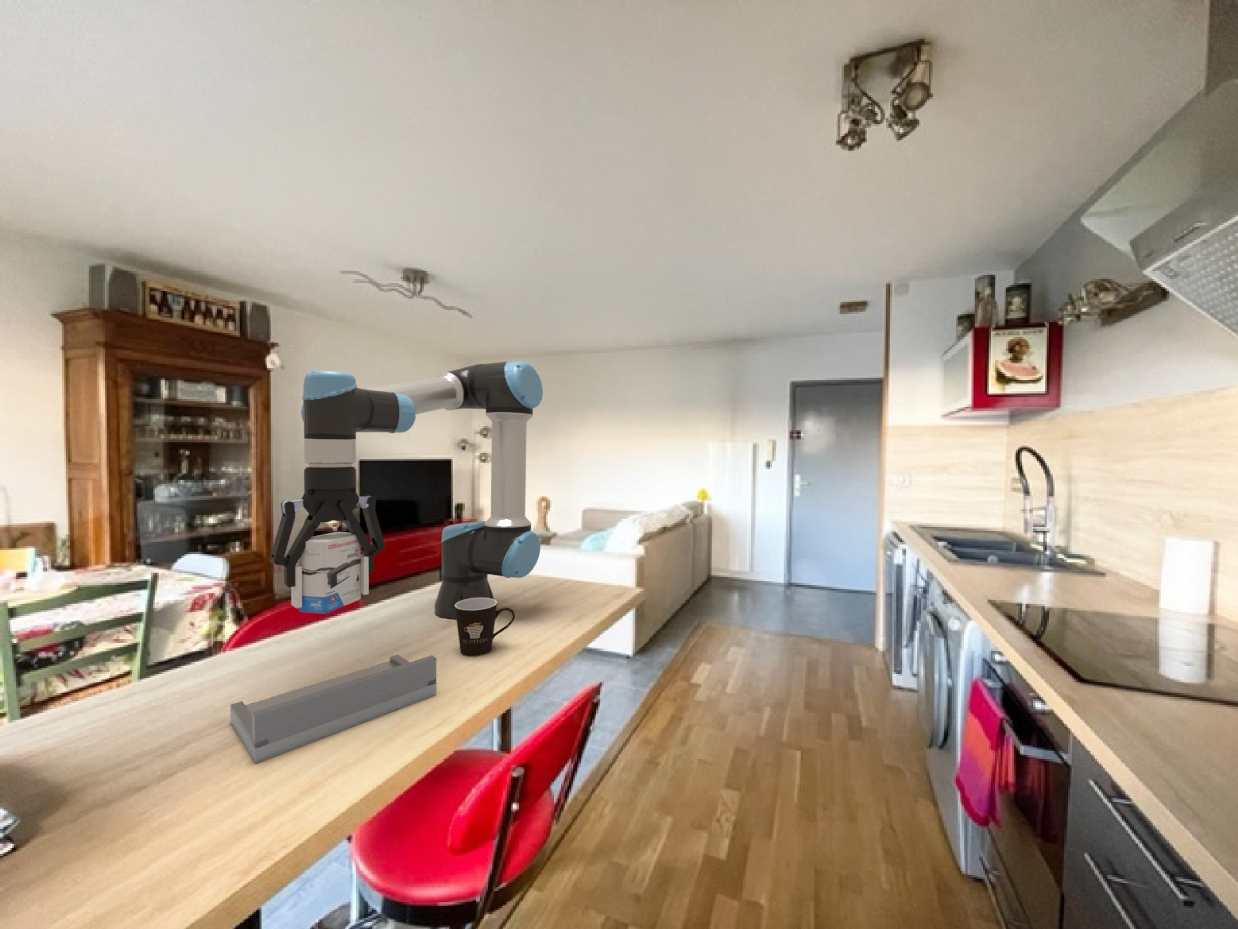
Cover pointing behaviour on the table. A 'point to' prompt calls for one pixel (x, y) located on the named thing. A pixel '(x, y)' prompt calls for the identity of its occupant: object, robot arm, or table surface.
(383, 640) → the table surface
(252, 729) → the gray tray
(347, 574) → the ink box
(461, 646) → the coffee mug
